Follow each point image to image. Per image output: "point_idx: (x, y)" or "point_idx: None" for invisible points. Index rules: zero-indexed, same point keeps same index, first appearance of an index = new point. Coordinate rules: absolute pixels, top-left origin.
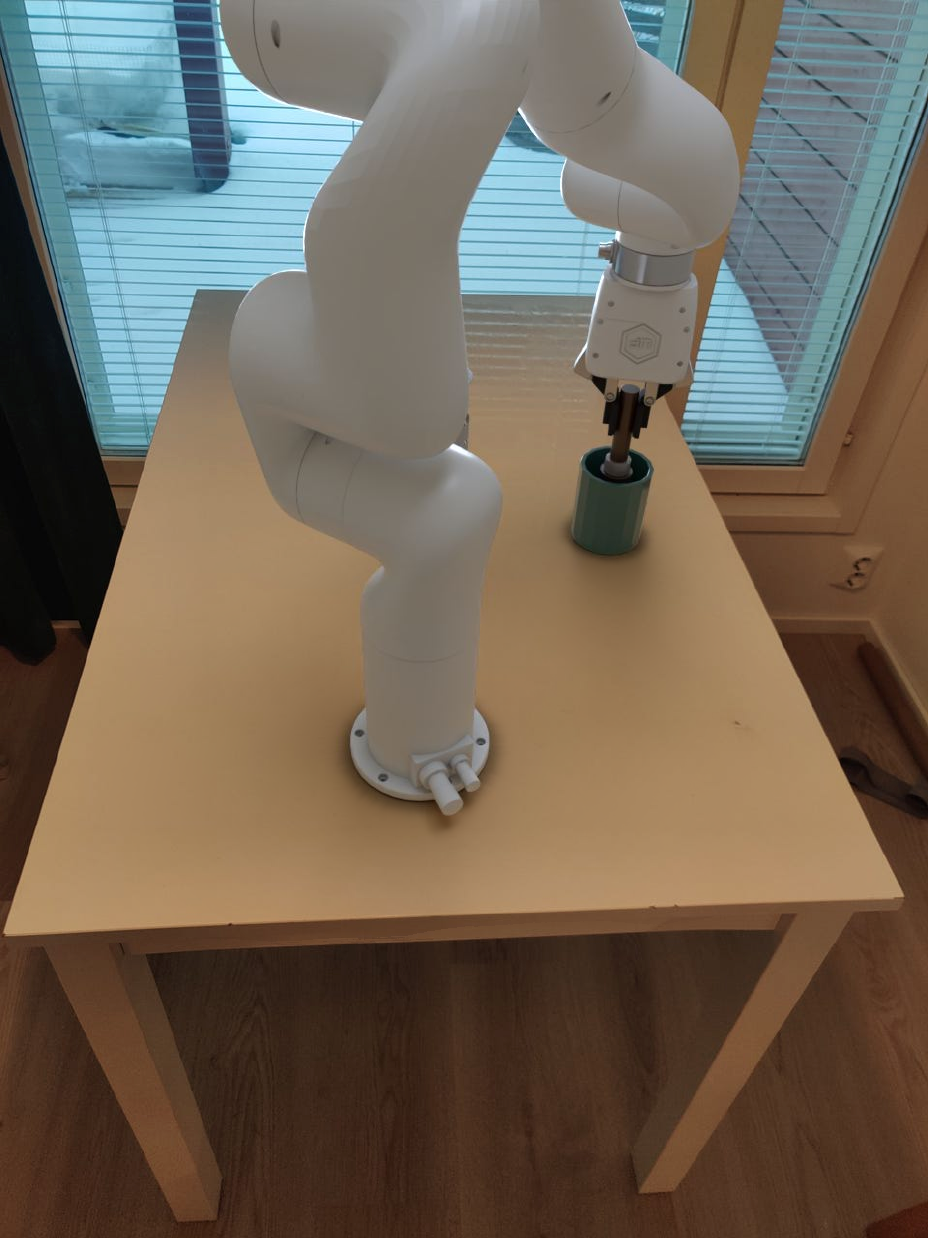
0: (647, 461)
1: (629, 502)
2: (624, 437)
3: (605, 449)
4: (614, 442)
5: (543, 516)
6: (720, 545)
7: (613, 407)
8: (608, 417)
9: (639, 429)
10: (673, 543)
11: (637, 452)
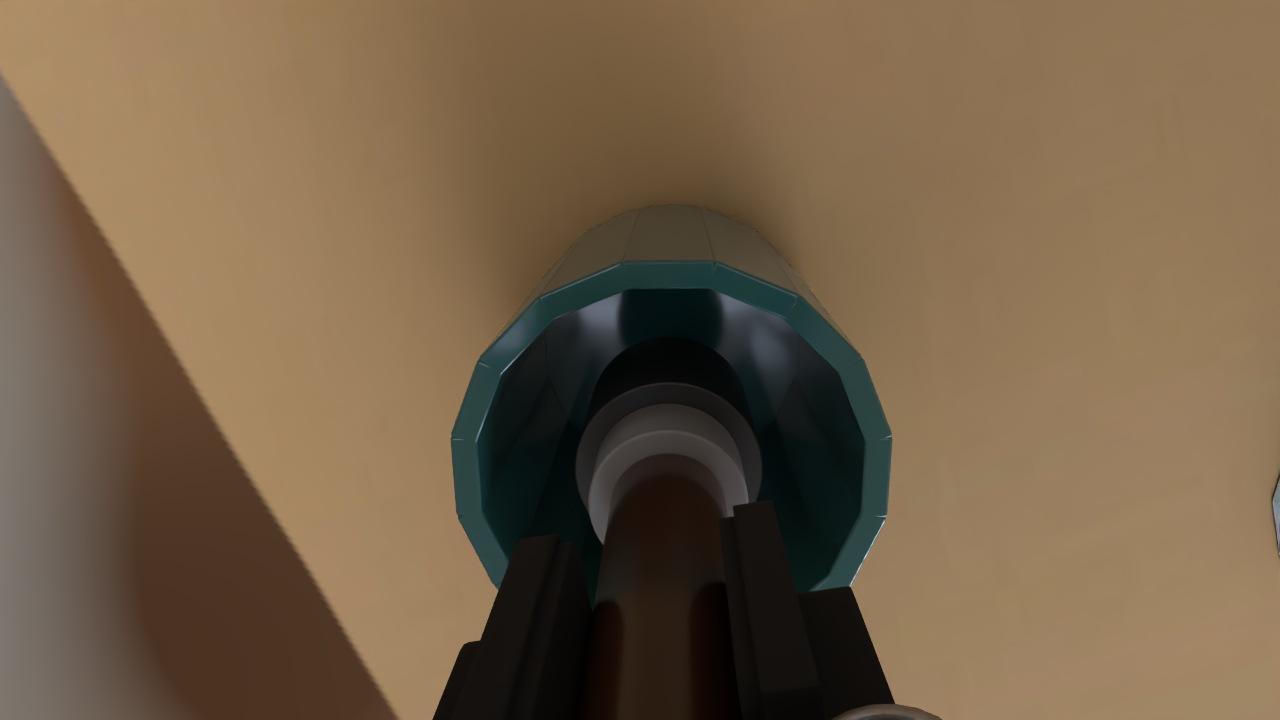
0: None
1: (548, 280)
2: (640, 547)
3: None
4: (710, 524)
5: (937, 367)
6: (238, 433)
7: (797, 656)
8: (814, 620)
9: (511, 575)
10: (404, 382)
11: None
